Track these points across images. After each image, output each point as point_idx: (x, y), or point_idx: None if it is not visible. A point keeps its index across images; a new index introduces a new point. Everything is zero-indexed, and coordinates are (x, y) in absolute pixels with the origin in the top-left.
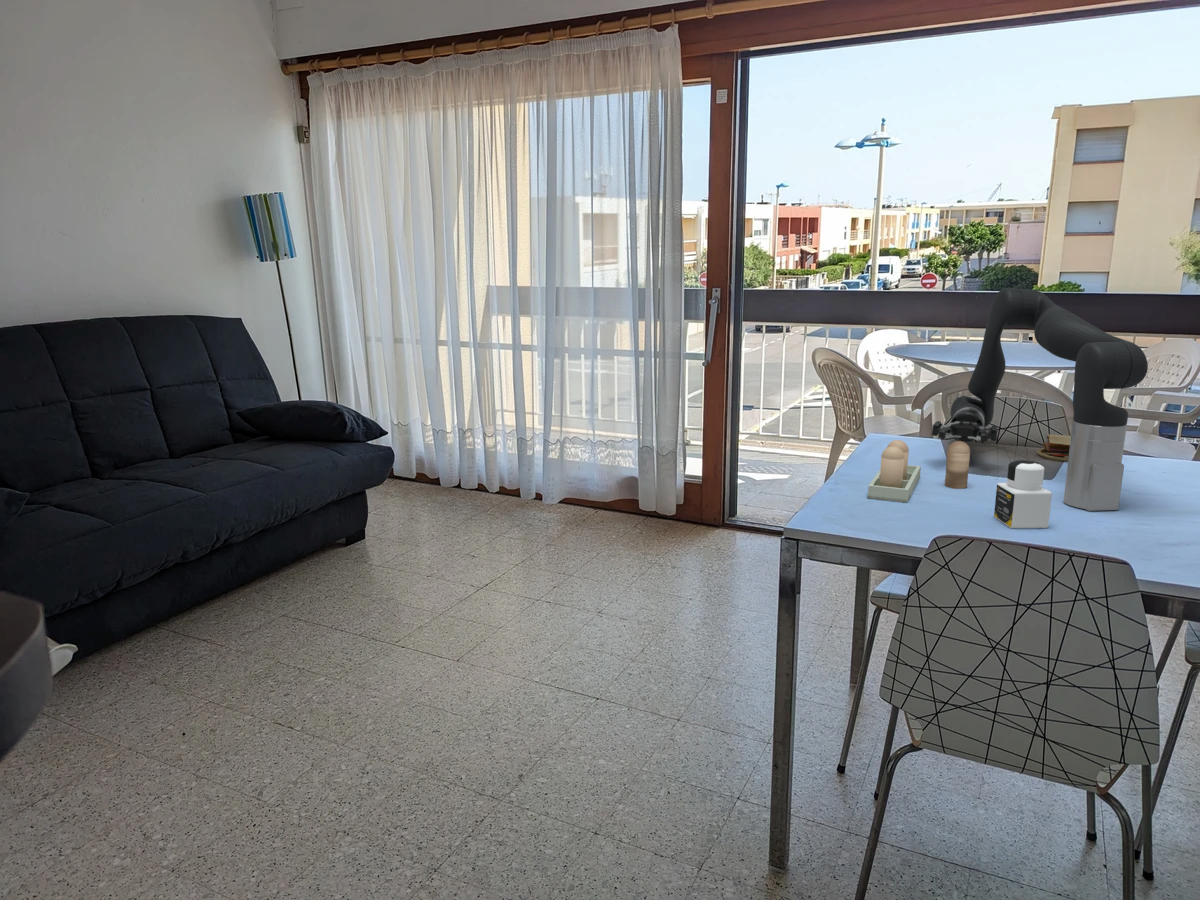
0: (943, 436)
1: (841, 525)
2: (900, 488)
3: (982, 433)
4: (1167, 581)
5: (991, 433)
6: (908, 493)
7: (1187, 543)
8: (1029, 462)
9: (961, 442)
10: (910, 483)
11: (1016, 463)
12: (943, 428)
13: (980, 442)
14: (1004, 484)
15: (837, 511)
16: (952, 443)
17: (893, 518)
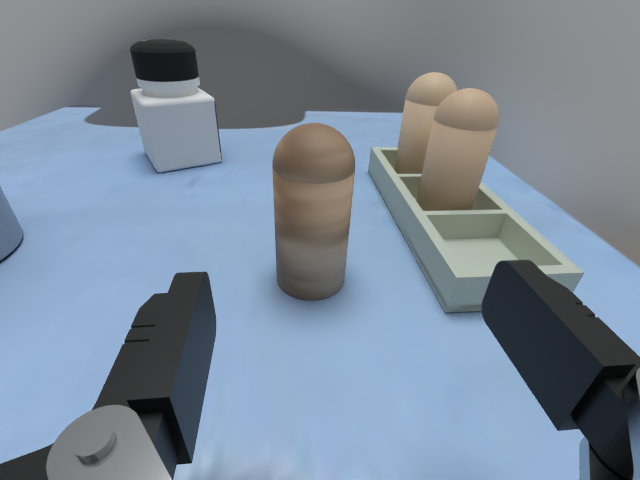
0: (491, 289)
1: (396, 121)
2: (386, 148)
3: (190, 285)
4: (81, 108)
5: (33, 459)
6: (372, 160)
7: None
8: (156, 40)
9: (306, 124)
10: (385, 166)
11: (182, 41)
12: (600, 335)
13: (215, 321)
14: (203, 93)
15: None
16: (339, 132)
17: (357, 138)
